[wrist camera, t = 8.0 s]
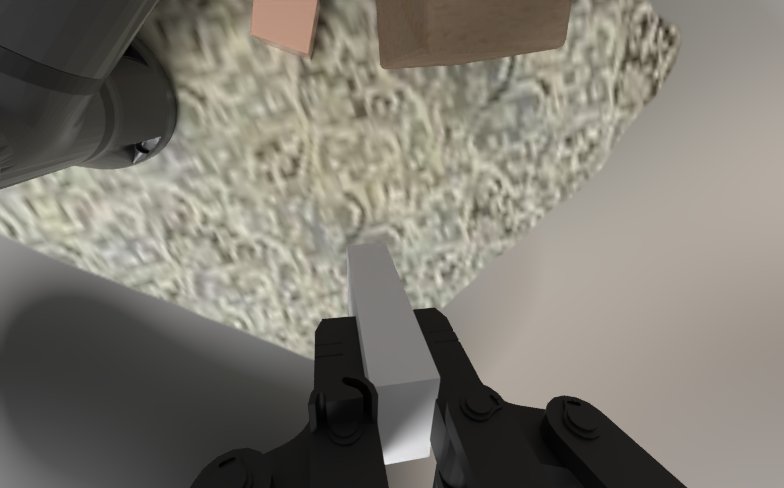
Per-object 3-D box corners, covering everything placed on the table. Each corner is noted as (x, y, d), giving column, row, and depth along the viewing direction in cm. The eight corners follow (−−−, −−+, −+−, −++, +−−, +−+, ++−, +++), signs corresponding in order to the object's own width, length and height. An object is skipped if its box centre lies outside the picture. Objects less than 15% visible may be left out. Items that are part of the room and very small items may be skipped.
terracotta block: (264, 44, 36) (249, 33, 28) (271, -10, 34) (257, -35, 27) (311, 60, 37) (307, 53, 30) (319, 9, 35) (318, -10, 28)
